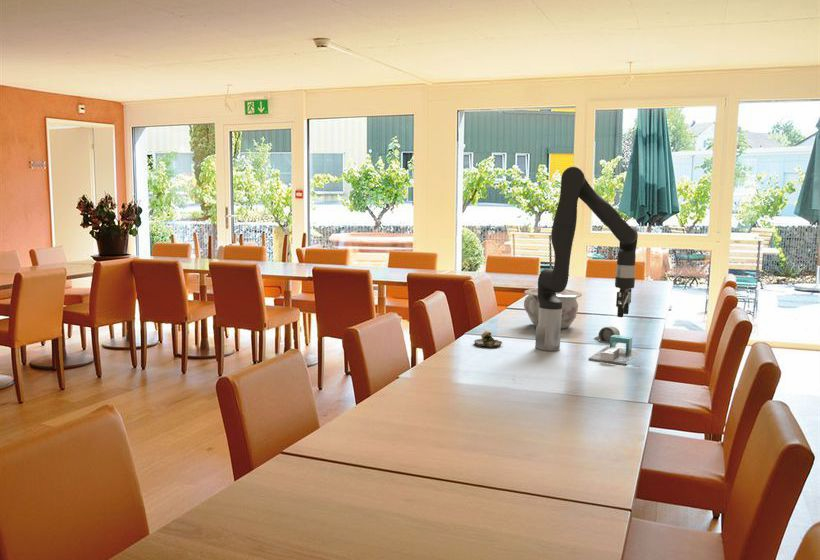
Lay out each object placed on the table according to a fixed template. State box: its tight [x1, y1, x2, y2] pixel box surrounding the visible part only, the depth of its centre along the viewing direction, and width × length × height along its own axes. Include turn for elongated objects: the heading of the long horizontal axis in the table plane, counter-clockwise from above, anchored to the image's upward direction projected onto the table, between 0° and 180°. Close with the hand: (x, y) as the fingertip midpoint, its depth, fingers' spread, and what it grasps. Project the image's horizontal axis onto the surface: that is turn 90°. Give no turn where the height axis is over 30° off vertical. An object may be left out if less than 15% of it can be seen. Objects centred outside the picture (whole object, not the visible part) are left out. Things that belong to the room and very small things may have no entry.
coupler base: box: [588, 346, 642, 367], centre depth 278 cm, size 26×14×4 cm, turn 149°
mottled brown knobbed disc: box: [473, 330, 503, 348], centre depth 293 cm, size 12×12×8 cm
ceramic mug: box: [594, 326, 621, 343], centre depth 306 cm, size 10×8×7 cm
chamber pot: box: [523, 287, 583, 330], centre depth 337 cm, size 28×28×21 cm
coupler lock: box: [609, 334, 633, 354], centre depth 284 cm, size 5×8×6 cm, turn 59°
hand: (622, 315), depth 283 cm, fingers open, 8 cm apart
